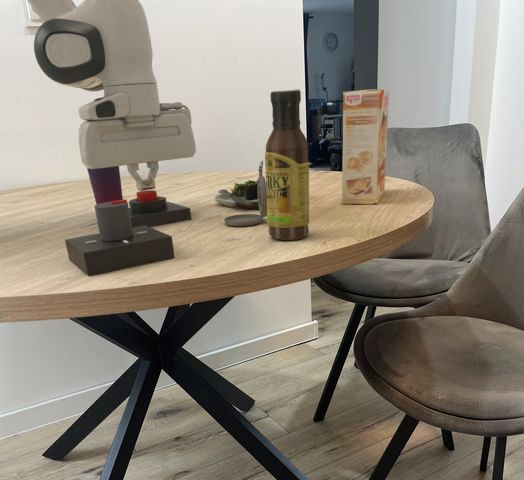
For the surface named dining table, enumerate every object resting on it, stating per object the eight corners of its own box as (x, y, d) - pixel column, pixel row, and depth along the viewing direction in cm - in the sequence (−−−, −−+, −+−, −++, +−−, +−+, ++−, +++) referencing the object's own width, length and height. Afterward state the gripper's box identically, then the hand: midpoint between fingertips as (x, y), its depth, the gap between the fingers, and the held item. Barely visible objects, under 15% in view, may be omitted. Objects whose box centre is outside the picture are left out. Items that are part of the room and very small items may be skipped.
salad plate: (191, 205, 108) (188, 182, 106) (252, 192, 119) (251, 171, 117) (253, 214, 95) (251, 188, 93) (316, 198, 106) (315, 175, 104)
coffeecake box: (378, 204, 96) (382, 88, 88) (340, 204, 98) (341, 91, 90) (386, 191, 109) (390, 88, 100) (352, 191, 111) (354, 91, 103)
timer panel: (88, 276, 65) (83, 251, 64) (69, 260, 73) (64, 238, 72) (174, 257, 71) (171, 234, 69) (148, 244, 78) (145, 224, 77)
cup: (88, 217, 102) (71, 136, 96) (105, 210, 108) (90, 134, 102) (118, 217, 101) (103, 134, 94) (134, 210, 106) (121, 132, 100)
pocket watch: (217, 224, 89) (211, 163, 84) (254, 216, 93) (250, 158, 89) (246, 231, 83) (241, 166, 78) (284, 221, 87) (282, 159, 83)
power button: (141, 204, 91) (140, 194, 90) (135, 201, 94) (133, 192, 93) (160, 201, 93) (159, 191, 92) (153, 199, 96) (152, 189, 95)
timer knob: (106, 243, 68) (99, 206, 66) (96, 237, 71) (89, 202, 69) (138, 237, 70) (132, 201, 68) (127, 232, 73) (120, 197, 71)
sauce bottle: (260, 237, 78) (251, 92, 70) (292, 230, 81) (287, 90, 73) (286, 244, 74) (279, 89, 65) (319, 236, 77) (317, 87, 68)
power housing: (128, 231, 88) (124, 207, 86) (111, 222, 96) (107, 201, 94) (191, 220, 94) (189, 197, 92) (170, 213, 102) (167, 192, 100)
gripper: (181, 102, 94) (191, 180, 100) (68, 109, 84) (86, 195, 90) (196, 100, 89) (205, 183, 95) (78, 108, 79) (96, 199, 85)
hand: (146, 189), depth 93 cm, fingers closed
